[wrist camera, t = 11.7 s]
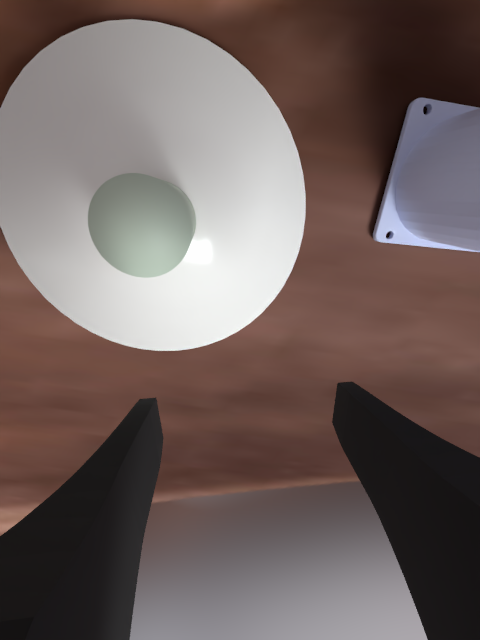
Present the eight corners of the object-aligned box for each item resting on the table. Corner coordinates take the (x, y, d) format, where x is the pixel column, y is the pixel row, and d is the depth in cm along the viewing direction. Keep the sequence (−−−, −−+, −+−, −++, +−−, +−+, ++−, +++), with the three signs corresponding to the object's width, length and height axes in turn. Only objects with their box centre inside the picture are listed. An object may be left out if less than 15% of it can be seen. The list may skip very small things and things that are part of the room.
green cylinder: (198, 184, 17) (193, 179, 12) (194, 259, 18) (189, 281, 14) (118, 174, 16) (82, 166, 11) (123, 253, 18) (92, 273, 13)
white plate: (330, 62, 16) (335, 55, 15) (278, 350, 22) (280, 356, 22) (-40, -7, 13) (-54, -19, 12) (31, 339, 20) (24, 344, 19)
